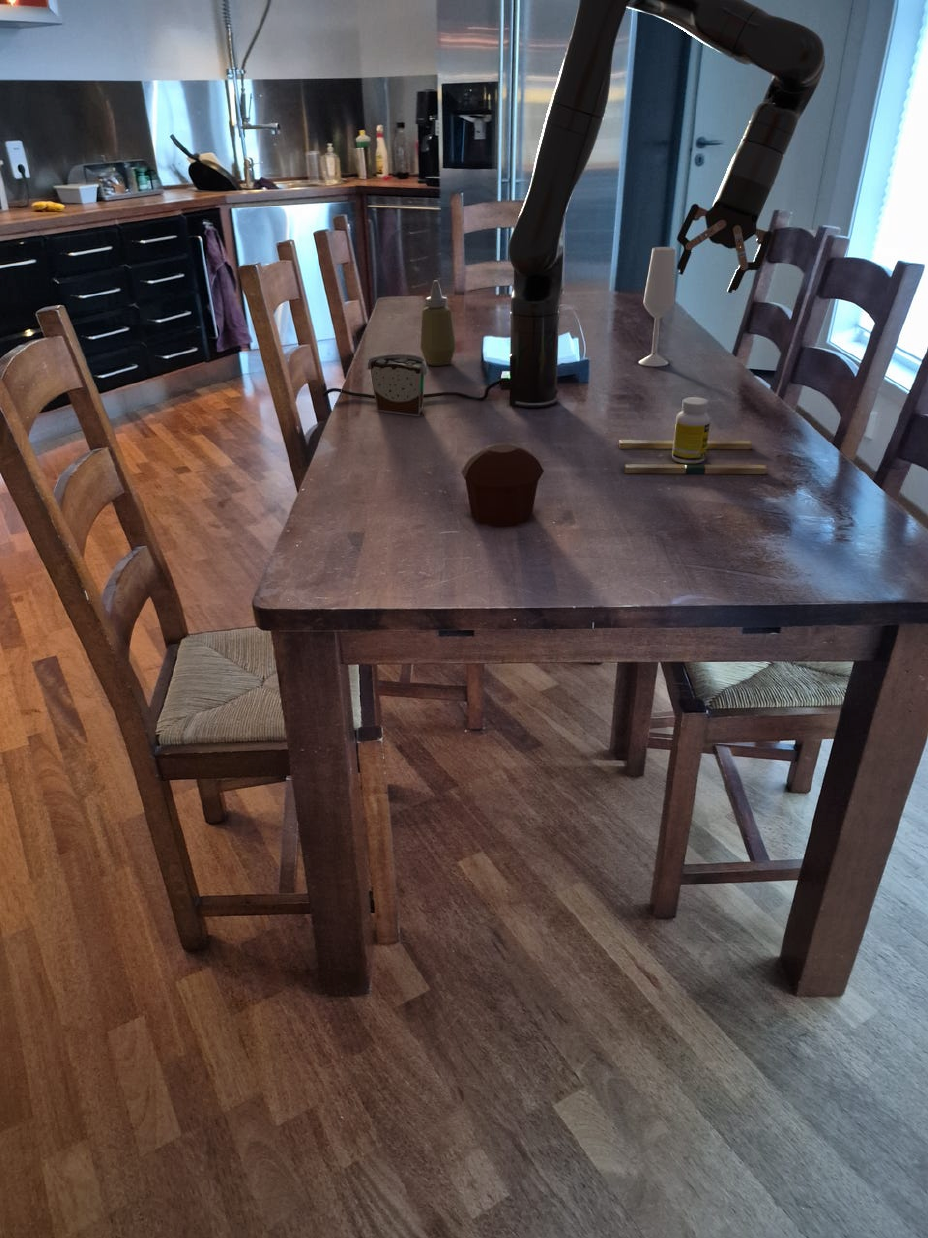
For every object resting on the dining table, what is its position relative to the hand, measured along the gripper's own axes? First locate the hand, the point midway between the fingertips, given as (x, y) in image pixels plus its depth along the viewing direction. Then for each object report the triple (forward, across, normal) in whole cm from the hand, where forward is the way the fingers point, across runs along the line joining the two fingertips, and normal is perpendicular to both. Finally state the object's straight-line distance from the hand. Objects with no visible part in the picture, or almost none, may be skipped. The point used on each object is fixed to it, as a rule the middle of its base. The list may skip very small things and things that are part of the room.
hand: (704, 283), depth 143 cm
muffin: (+38, -15, -39) cm, 56 cm away
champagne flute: (+20, -2, +49) cm, 53 cm away
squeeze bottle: (+36, -48, +42) cm, 73 cm away
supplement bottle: (+26, +9, -12) cm, 30 cm away
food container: (+40, -44, +7) cm, 60 cm away
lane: (+25, +9, -12) cm, 29 cm away
